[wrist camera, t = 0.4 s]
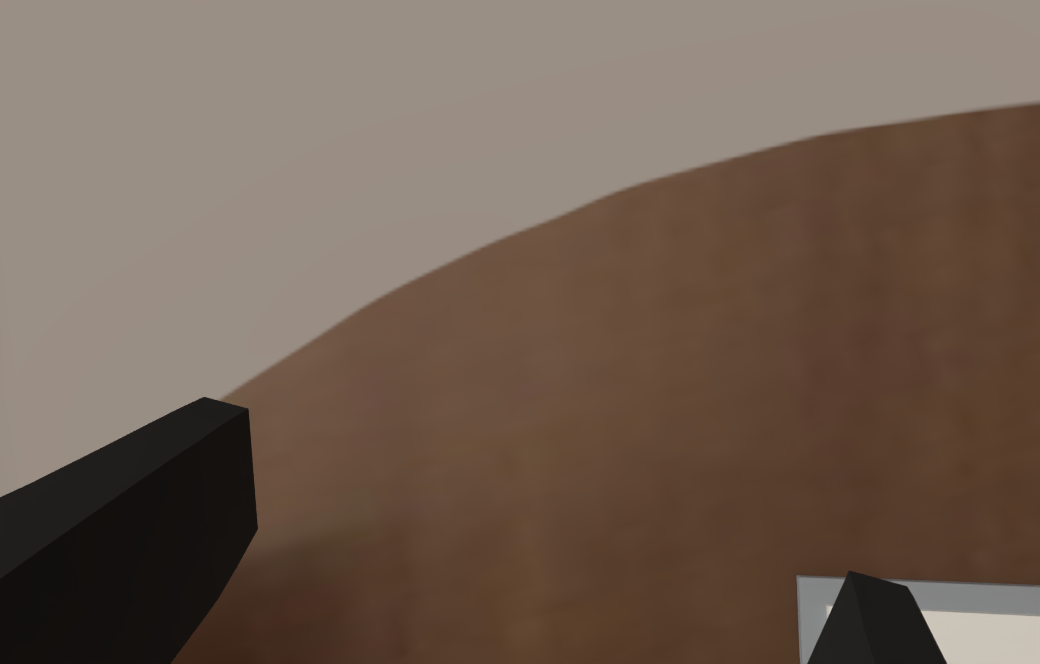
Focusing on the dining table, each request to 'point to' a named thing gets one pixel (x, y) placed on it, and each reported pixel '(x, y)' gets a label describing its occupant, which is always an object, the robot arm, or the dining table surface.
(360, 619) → the dining table surface
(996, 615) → the lid
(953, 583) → the mat
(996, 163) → the dining table surface
